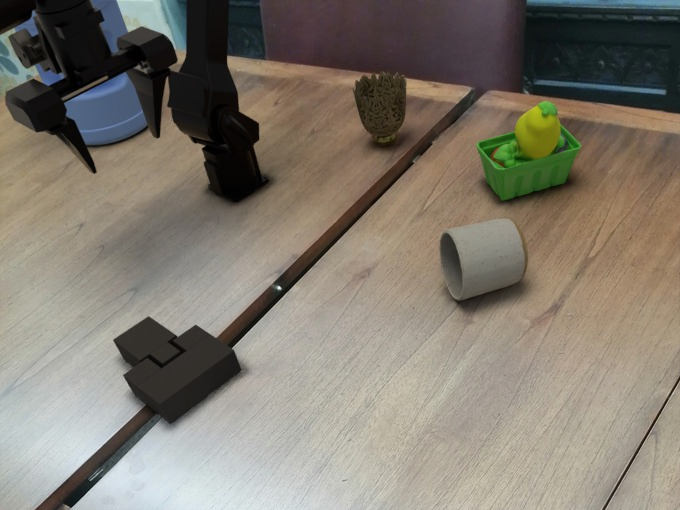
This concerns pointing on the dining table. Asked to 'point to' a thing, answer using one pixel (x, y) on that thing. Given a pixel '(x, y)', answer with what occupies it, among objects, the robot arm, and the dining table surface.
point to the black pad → (147, 343)
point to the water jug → (102, 90)
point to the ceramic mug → (483, 257)
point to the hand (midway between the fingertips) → (125, 154)
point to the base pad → (184, 374)
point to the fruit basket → (529, 154)
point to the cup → (381, 105)
